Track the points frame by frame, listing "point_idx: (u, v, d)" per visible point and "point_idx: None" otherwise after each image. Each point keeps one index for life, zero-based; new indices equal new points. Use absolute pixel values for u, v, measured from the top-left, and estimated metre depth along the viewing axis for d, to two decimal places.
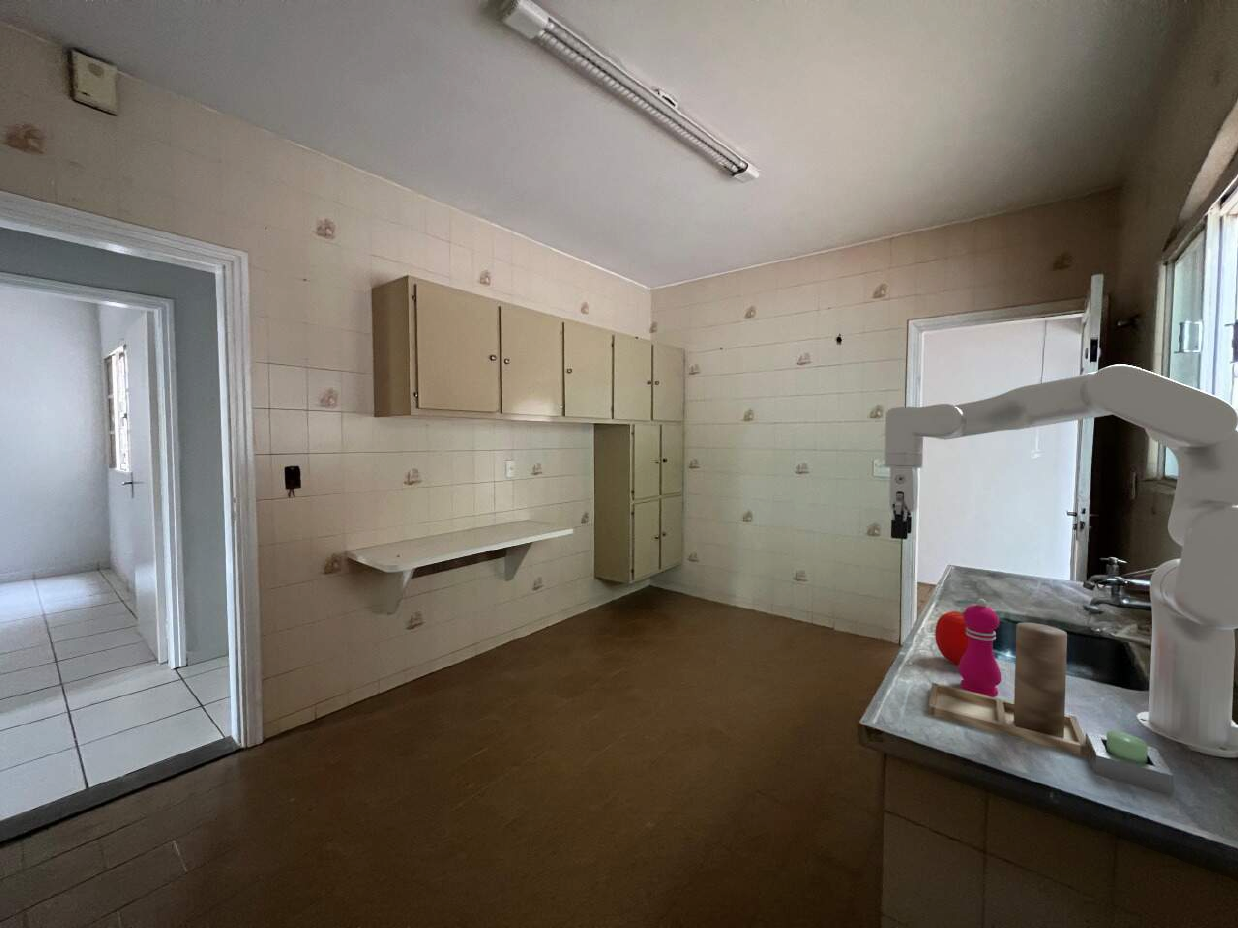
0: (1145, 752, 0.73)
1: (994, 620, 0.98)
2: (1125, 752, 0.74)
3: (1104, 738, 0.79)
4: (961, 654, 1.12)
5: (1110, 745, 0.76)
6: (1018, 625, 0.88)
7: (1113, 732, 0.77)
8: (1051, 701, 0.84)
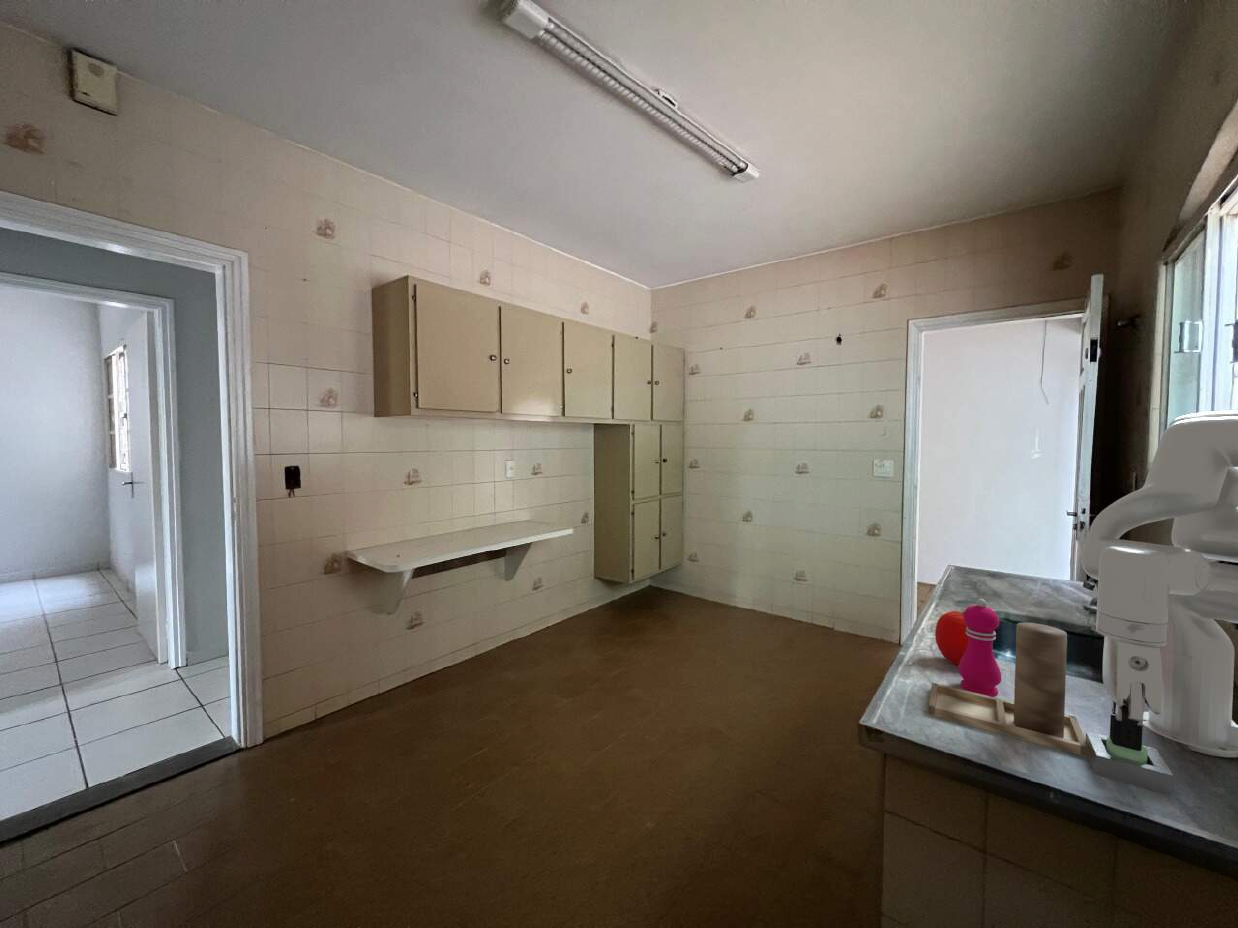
0: (1145, 758, 0.74)
1: (994, 620, 0.98)
2: (1125, 758, 0.74)
3: (1104, 738, 0.79)
4: (961, 654, 1.12)
5: (1110, 751, 0.76)
6: (1018, 625, 0.88)
7: None
8: (1051, 701, 0.84)
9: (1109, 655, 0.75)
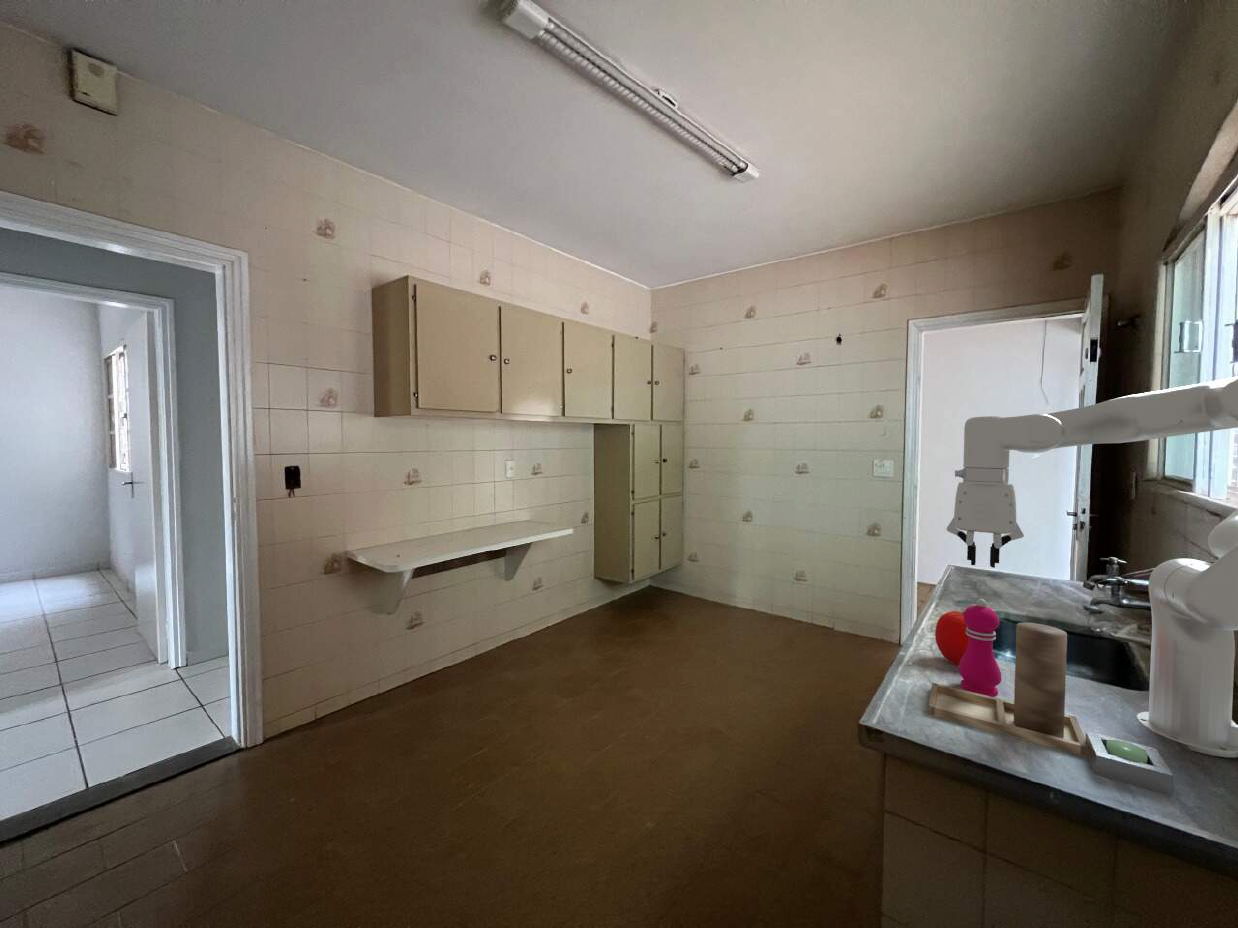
0: (1145, 761, 0.74)
1: (994, 620, 0.98)
2: None
3: (1104, 738, 0.79)
4: (961, 654, 1.12)
5: (1110, 754, 0.76)
6: (1018, 625, 0.88)
7: (1113, 740, 0.77)
8: (1051, 701, 0.84)
9: None
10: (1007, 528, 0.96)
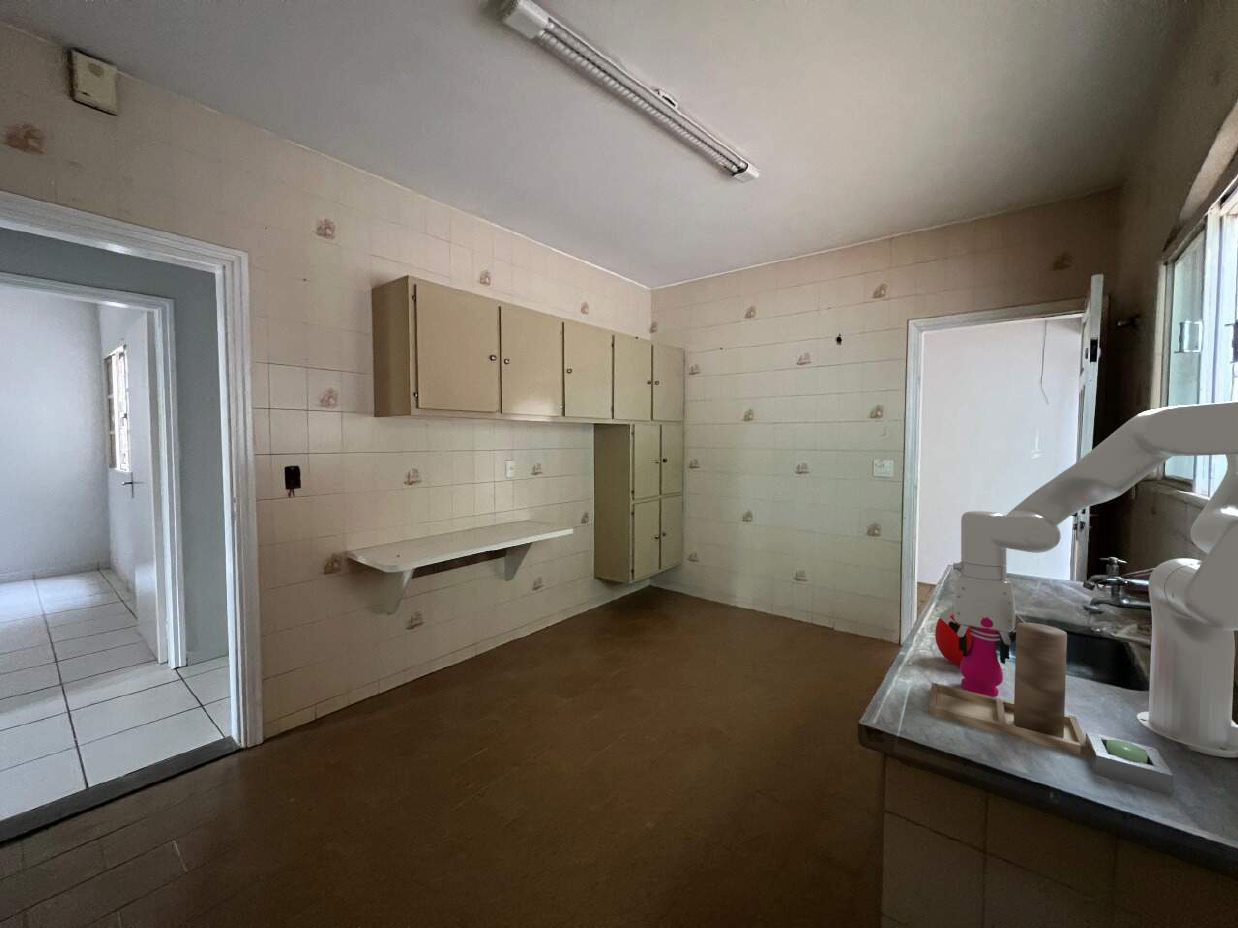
0: (1145, 761, 0.74)
1: None
2: None
3: (1104, 738, 0.79)
4: (961, 654, 1.12)
5: (1110, 754, 0.76)
6: (1018, 625, 0.88)
7: (1113, 740, 0.77)
8: (1051, 701, 0.84)
9: None
10: (1006, 626, 0.97)
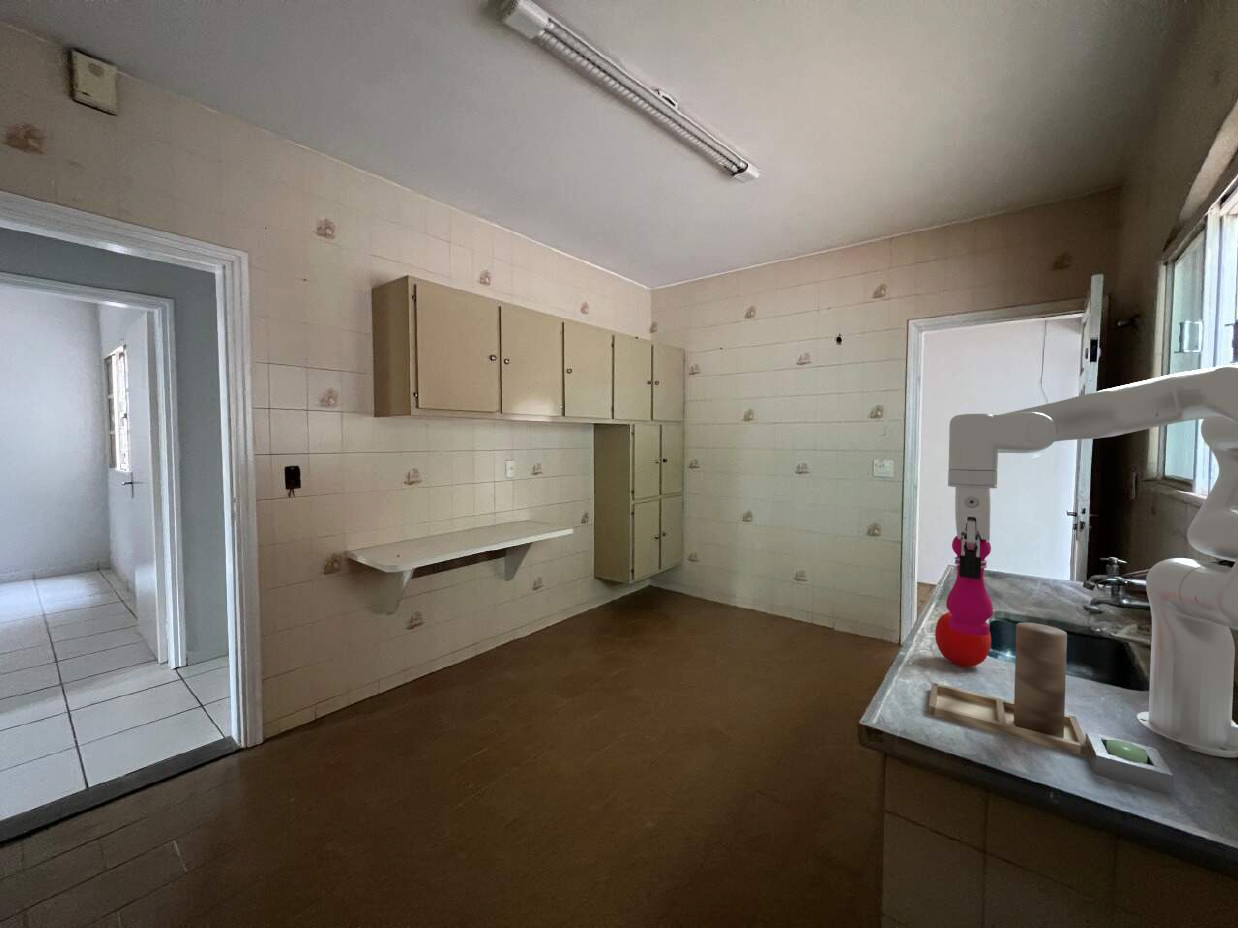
0: (1145, 761, 0.74)
1: None
2: None
3: (1104, 738, 0.79)
4: (961, 654, 1.12)
5: (1110, 754, 0.76)
6: (1018, 625, 0.88)
7: (1113, 740, 0.77)
8: (1051, 701, 0.84)
9: (955, 502, 0.92)
10: None
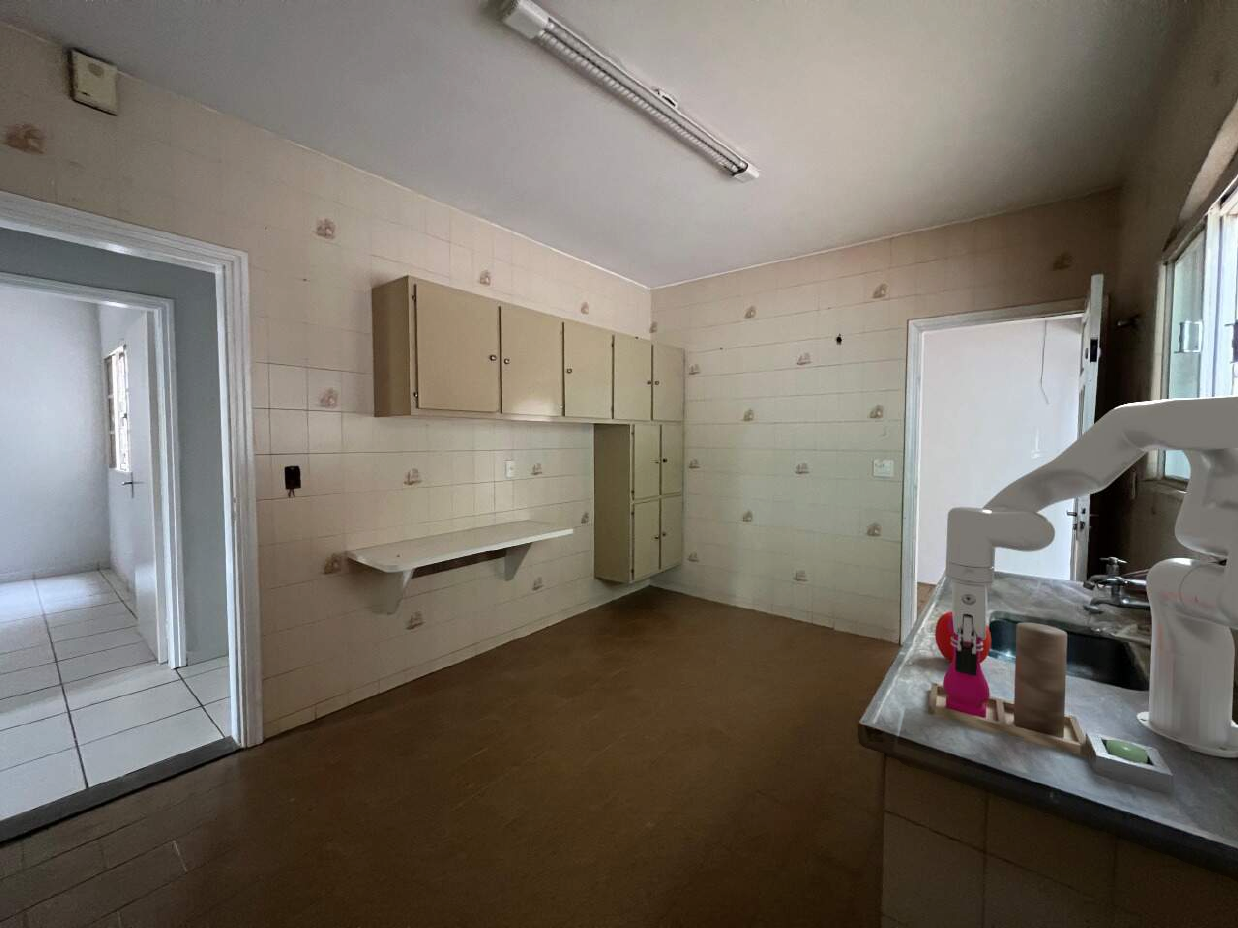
0: (1145, 761, 0.74)
1: None
2: None
3: (1104, 738, 0.79)
4: None
5: (1110, 754, 0.76)
6: (1018, 625, 0.88)
7: (1113, 740, 0.77)
8: (1051, 701, 0.84)
9: (952, 595, 0.93)
10: None
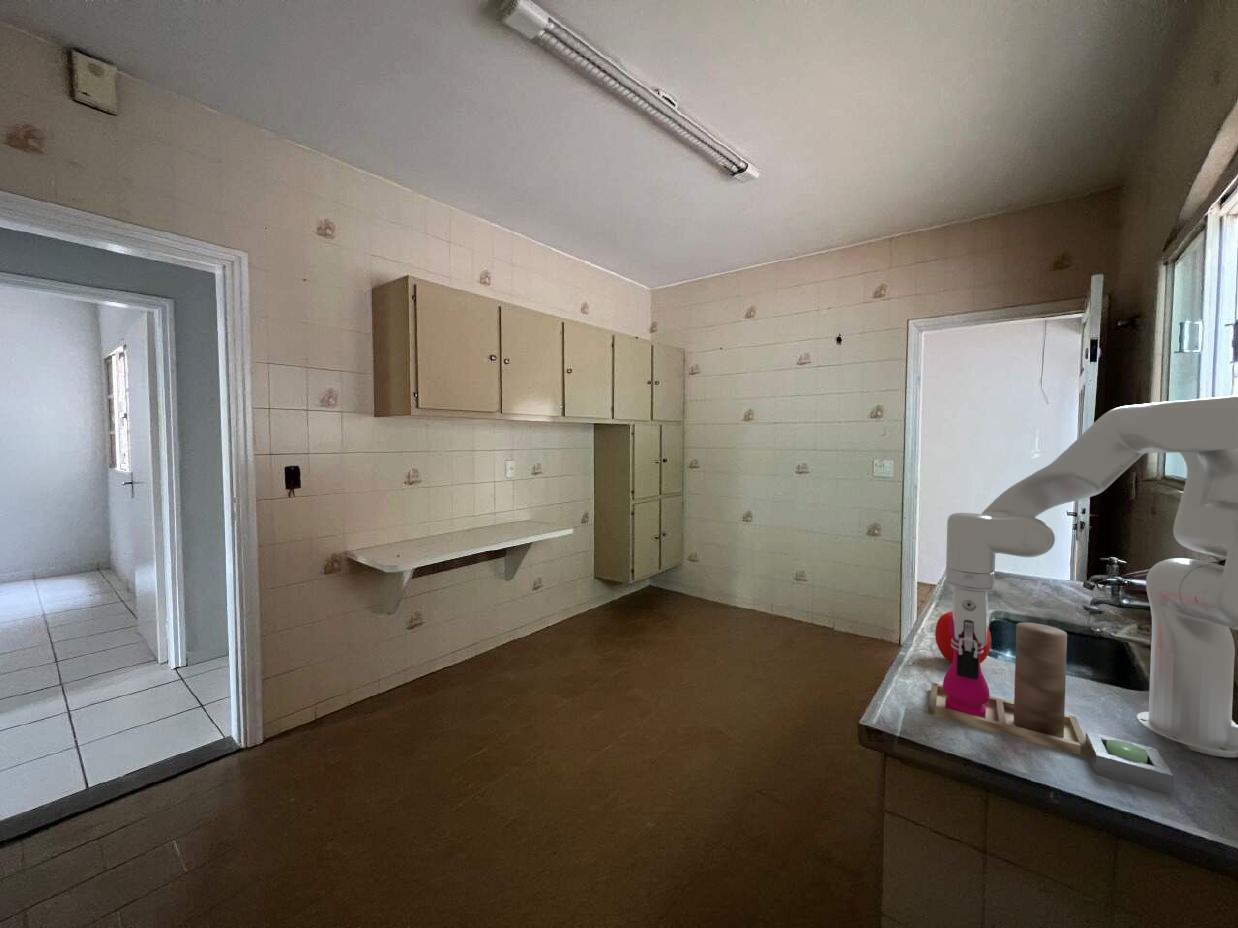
0: (1145, 761, 0.74)
1: None
2: None
3: (1104, 738, 0.79)
4: None
5: (1110, 754, 0.76)
6: (1018, 625, 0.88)
7: (1113, 740, 0.77)
8: (1051, 701, 0.84)
9: (953, 601, 0.93)
10: None
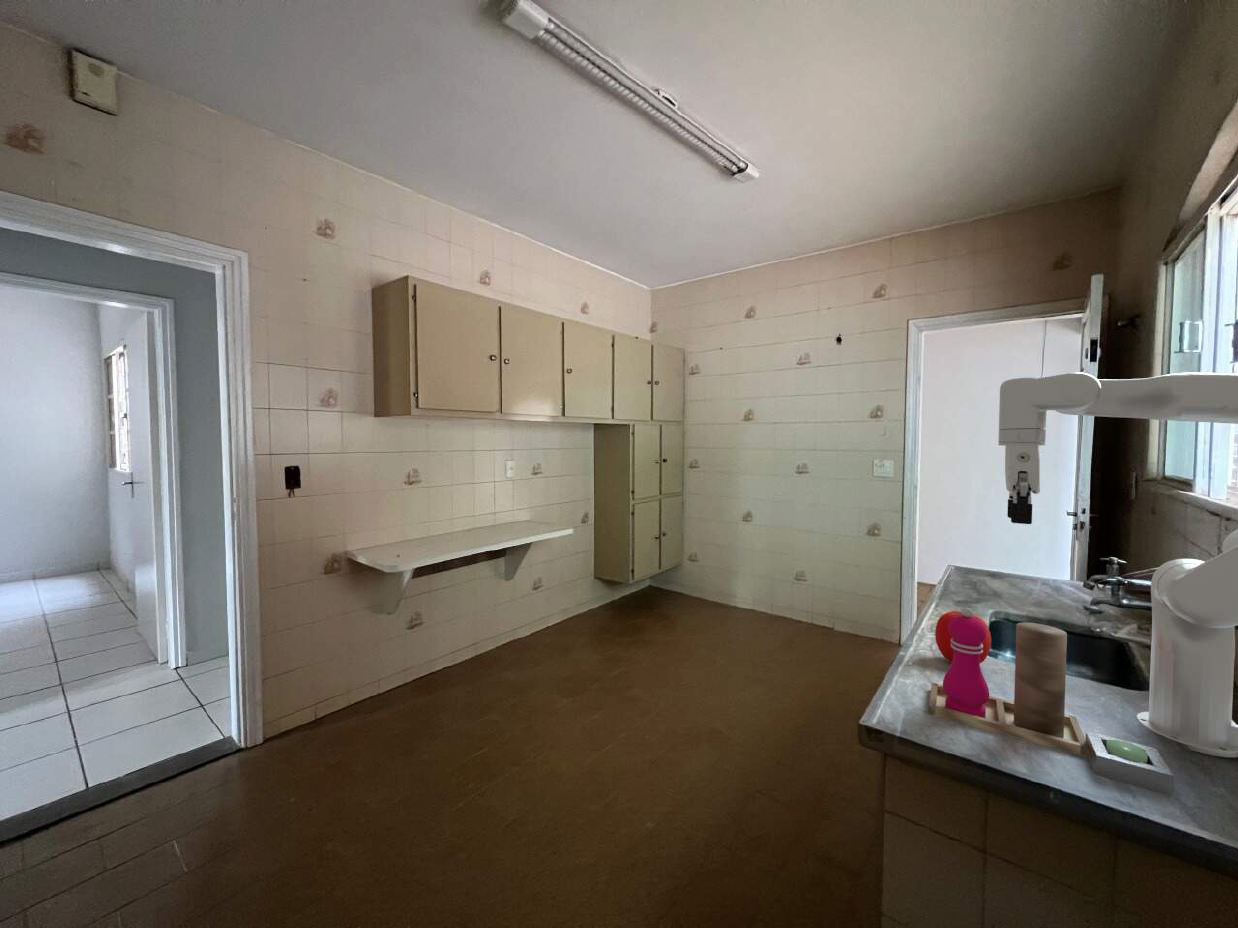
0: (1145, 761, 0.74)
1: None
2: None
3: (1104, 738, 0.79)
4: None
5: (1110, 754, 0.76)
6: (1018, 625, 0.88)
7: (1113, 740, 0.77)
8: (1051, 701, 0.84)
9: (1006, 459, 1.01)
10: None
